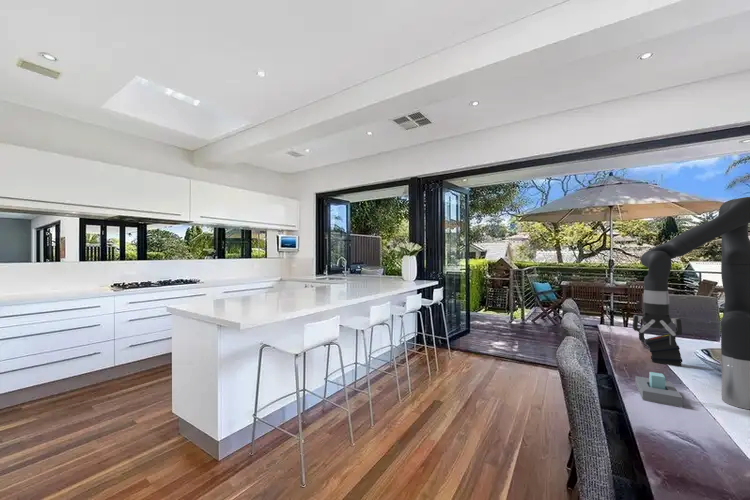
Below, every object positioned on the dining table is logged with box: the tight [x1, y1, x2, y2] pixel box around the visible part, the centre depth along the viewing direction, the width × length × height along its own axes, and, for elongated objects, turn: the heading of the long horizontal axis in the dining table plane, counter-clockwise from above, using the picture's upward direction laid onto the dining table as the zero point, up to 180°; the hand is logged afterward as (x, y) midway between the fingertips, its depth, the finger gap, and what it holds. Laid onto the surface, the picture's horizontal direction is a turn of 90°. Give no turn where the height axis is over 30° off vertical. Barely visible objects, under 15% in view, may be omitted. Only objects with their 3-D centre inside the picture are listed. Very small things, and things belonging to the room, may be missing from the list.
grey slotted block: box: [635, 375, 683, 408], centre depth 123 cm, size 16×11×4 cm
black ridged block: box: [644, 333, 683, 368], centre depth 156 cm, size 4×13×15 cm, turn 51°
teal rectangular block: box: [648, 371, 666, 390], centre depth 123 cm, size 4×4×8 cm
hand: (656, 343), depth 123 cm, fingers open, 8 cm apart
